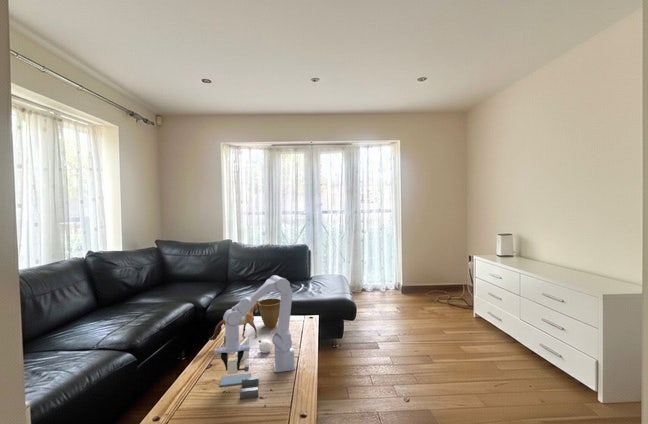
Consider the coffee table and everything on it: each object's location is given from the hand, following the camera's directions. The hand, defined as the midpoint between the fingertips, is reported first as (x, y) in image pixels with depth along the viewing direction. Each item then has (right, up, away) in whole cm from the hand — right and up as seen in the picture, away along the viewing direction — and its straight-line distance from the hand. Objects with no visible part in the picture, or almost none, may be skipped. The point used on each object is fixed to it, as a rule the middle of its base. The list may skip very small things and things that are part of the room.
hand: (232, 368), depth 131 cm
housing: (+9, -7, -5) cm, 12 cm away
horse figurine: (-12, -7, +44) cm, 46 cm away
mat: (0, -7, +3) cm, 8 cm away
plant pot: (+4, -7, +67) cm, 67 cm away
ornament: (+8, -7, +30) cm, 32 cm away
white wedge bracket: (-2, -7, +24) cm, 25 cm away
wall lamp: (+2, -1, +1) cm, 3 cm away
